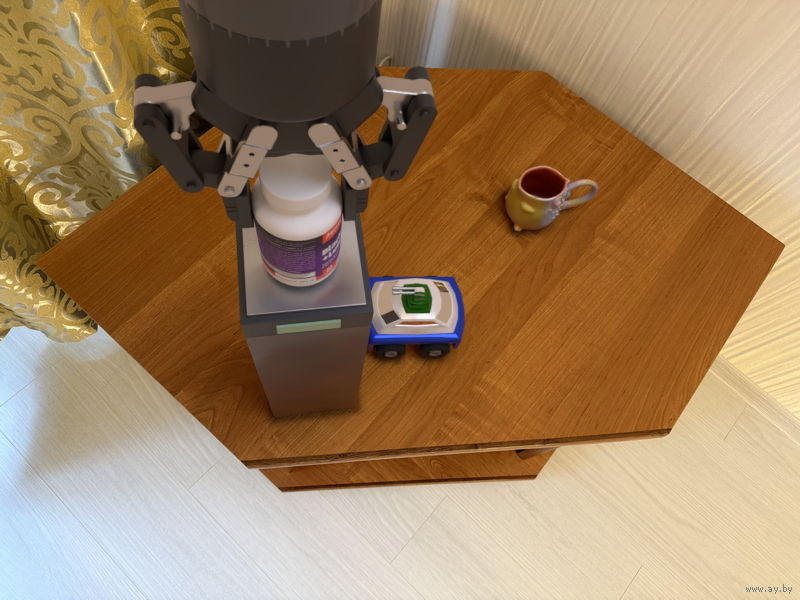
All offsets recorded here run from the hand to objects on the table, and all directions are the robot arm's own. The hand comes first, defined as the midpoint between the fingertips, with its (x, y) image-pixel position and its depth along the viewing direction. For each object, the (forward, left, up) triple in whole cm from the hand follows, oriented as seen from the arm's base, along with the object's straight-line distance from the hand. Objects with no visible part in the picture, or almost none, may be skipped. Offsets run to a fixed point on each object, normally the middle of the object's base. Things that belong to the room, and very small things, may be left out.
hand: (297, 211), depth 36 cm
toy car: (+12, +5, -35) cm, 37 cm away
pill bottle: (0, 0, -6) cm, 6 cm away
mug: (+33, +19, -35) cm, 51 cm away
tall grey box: (0, 0, -34) cm, 34 cm away
